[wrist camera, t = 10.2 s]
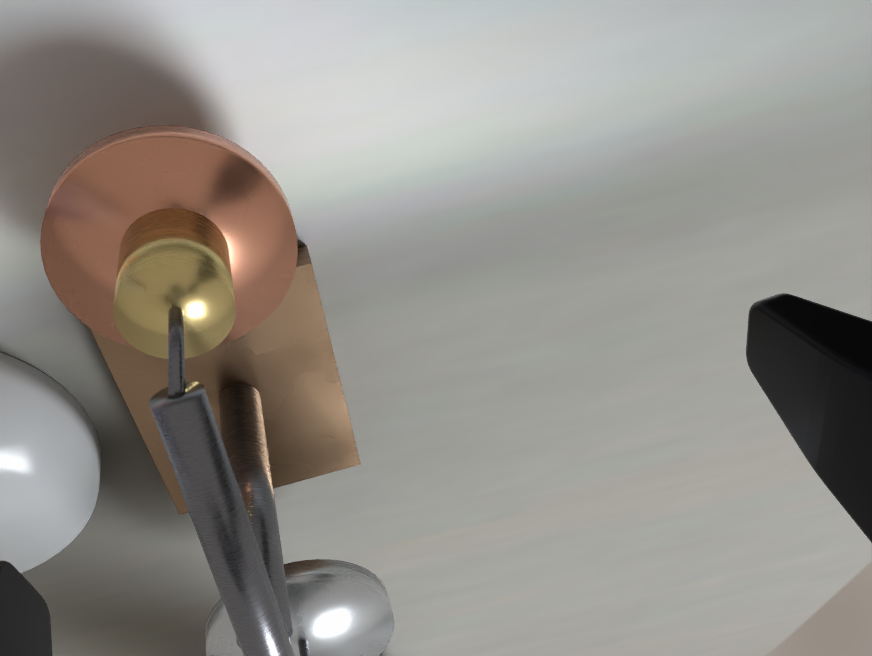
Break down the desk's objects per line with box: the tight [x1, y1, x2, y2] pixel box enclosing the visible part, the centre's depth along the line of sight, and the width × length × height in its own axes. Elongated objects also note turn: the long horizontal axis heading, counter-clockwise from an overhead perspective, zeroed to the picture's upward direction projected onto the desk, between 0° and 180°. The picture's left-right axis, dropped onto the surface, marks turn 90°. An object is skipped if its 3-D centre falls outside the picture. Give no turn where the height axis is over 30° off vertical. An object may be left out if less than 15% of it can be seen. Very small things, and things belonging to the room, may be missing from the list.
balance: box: [40, 125, 394, 656], centre depth 20 cm, size 18×6×11 cm, turn 6°
